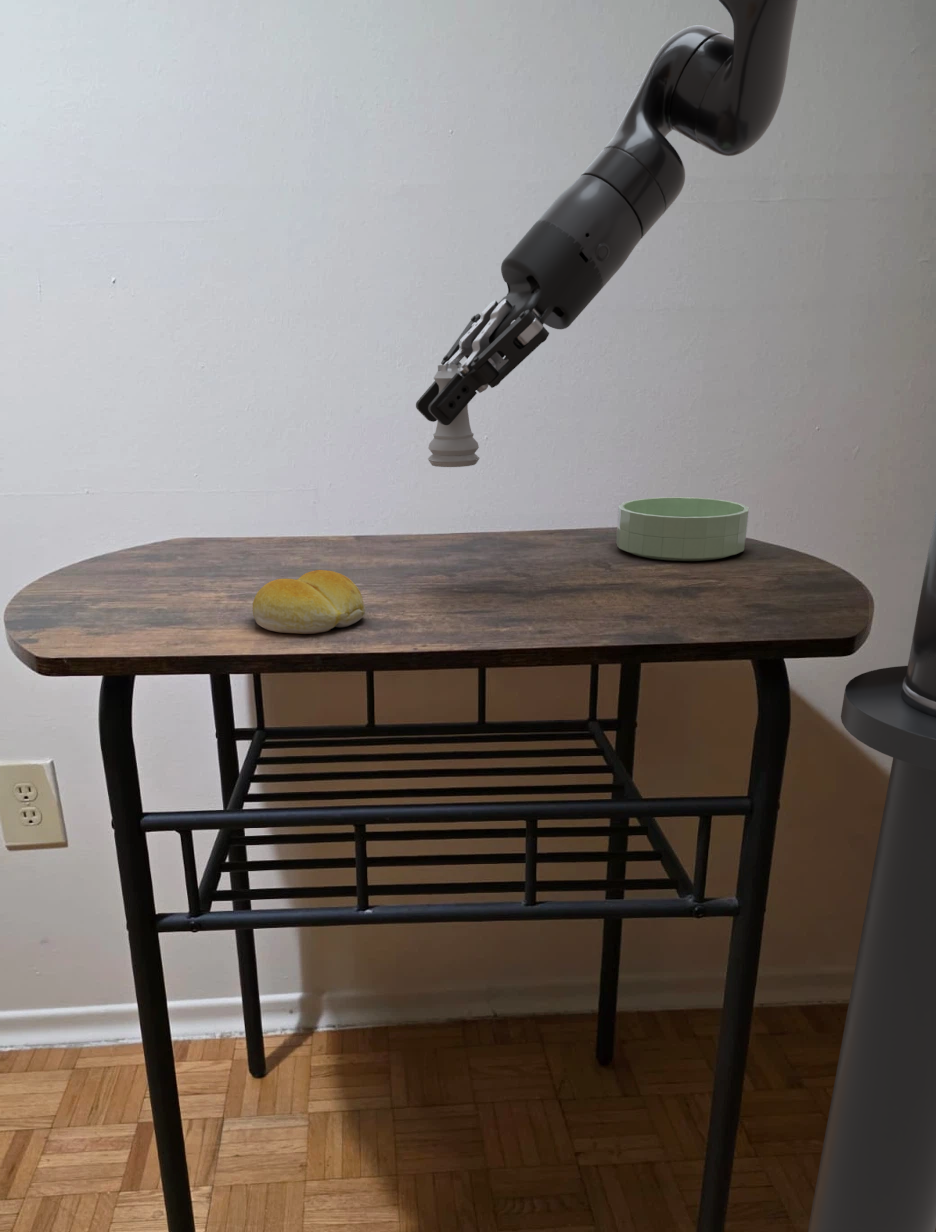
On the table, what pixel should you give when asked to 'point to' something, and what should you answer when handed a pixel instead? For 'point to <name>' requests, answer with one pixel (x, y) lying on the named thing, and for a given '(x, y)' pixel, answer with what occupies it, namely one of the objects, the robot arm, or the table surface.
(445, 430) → the rook chess piece
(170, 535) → the table surface
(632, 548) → the bowl
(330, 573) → the bread roll
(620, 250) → the robot arm
